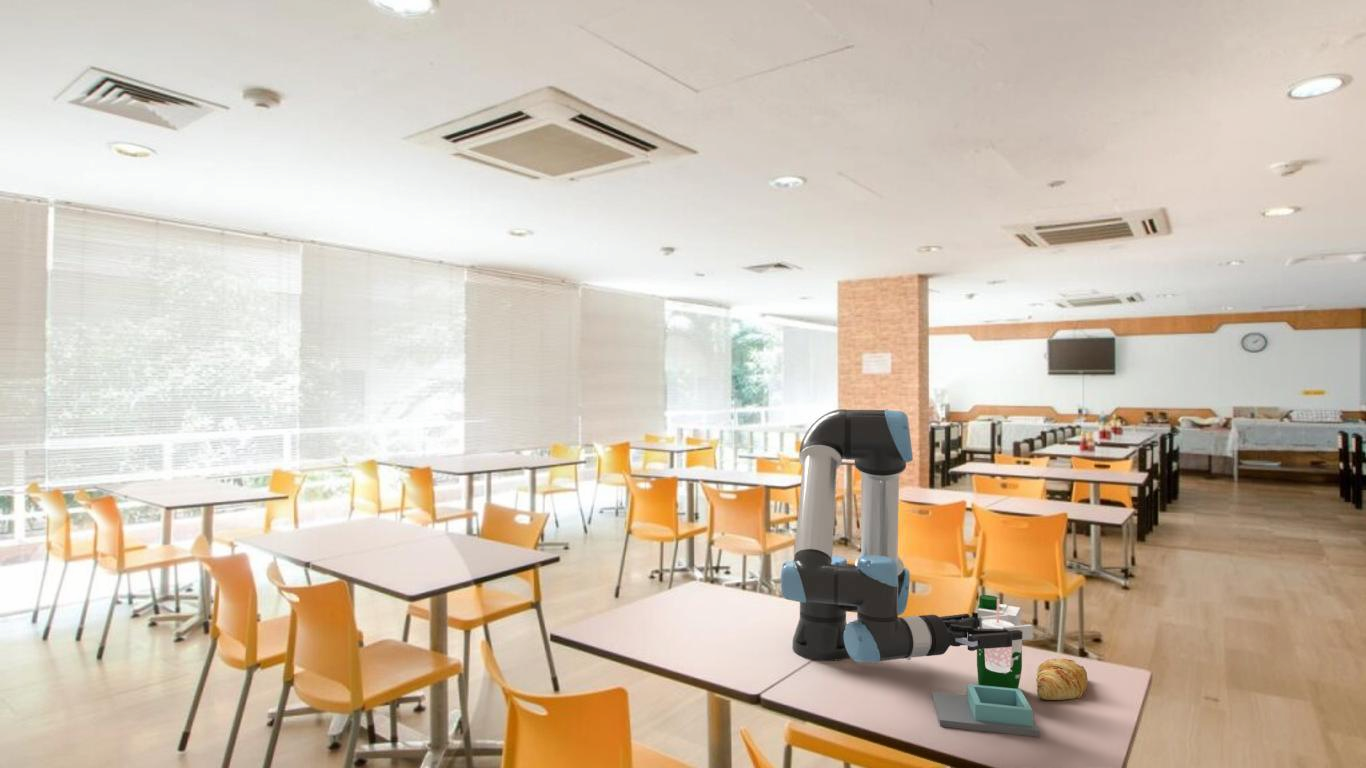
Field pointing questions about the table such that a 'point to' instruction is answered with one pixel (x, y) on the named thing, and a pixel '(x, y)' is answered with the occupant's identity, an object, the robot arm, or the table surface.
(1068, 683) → the croissant
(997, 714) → the dock
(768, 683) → the table surface
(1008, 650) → the beverage cup
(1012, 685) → the milk carton
